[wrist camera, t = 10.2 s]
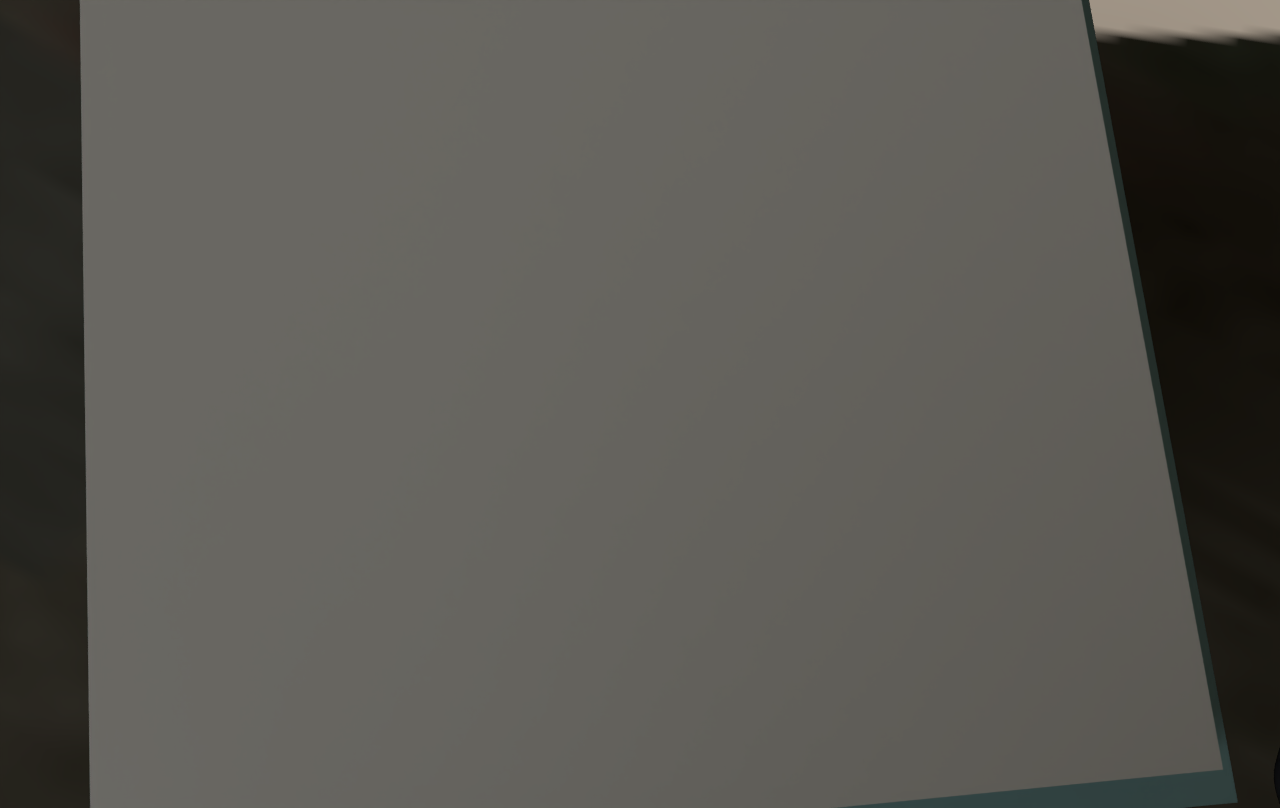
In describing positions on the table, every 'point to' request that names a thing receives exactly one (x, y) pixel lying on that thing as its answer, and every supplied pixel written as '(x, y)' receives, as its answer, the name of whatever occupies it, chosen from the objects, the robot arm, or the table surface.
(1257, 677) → the table surface
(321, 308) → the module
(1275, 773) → the robot arm
